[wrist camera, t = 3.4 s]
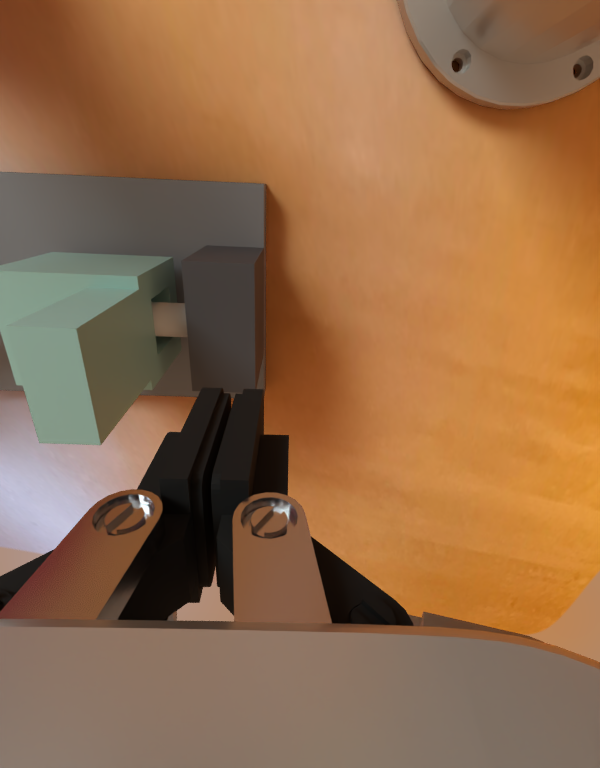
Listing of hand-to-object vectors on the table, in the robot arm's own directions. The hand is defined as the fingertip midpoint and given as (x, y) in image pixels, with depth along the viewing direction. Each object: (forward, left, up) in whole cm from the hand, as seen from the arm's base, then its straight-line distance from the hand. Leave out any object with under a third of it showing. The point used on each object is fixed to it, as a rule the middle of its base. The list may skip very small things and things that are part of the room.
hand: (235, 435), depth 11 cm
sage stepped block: (+8, 0, -11) cm, 14 cm away
